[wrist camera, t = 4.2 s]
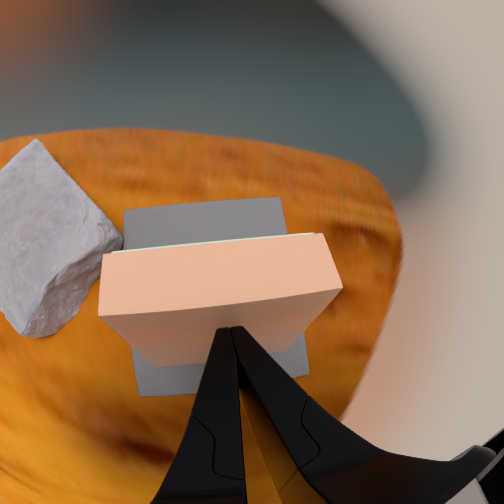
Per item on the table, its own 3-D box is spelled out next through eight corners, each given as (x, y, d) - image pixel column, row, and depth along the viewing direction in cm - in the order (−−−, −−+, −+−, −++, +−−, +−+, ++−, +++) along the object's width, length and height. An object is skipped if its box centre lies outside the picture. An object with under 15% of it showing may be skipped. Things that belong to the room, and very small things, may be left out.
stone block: (65, 350, 15) (142, 235, 16) (21, 362, 10) (105, 214, 11) (-4, 246, 15) (54, 149, 17) (-42, 236, 11) (21, 122, 12)
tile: (284, 351, 14) (343, 287, 8) (157, 367, 13) (98, 315, 6) (276, 314, 16) (320, 228, 9) (154, 329, 14) (104, 248, 8)
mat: (308, 373, 15) (310, 373, 15) (140, 395, 13) (139, 396, 13) (278, 199, 18) (280, 197, 18) (125, 212, 16) (124, 210, 16)
